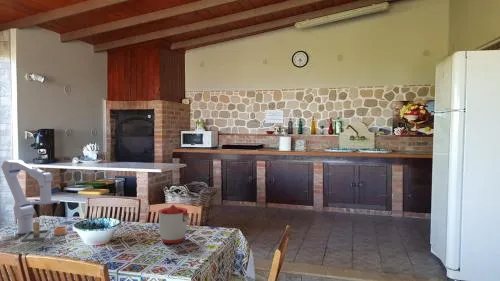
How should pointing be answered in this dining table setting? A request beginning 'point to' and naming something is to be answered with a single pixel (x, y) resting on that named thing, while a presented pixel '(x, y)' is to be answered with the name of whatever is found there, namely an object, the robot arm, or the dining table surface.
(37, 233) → the dowel
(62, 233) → the open box
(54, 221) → the dining table surface
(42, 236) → the tray
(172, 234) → the citrus juicer
